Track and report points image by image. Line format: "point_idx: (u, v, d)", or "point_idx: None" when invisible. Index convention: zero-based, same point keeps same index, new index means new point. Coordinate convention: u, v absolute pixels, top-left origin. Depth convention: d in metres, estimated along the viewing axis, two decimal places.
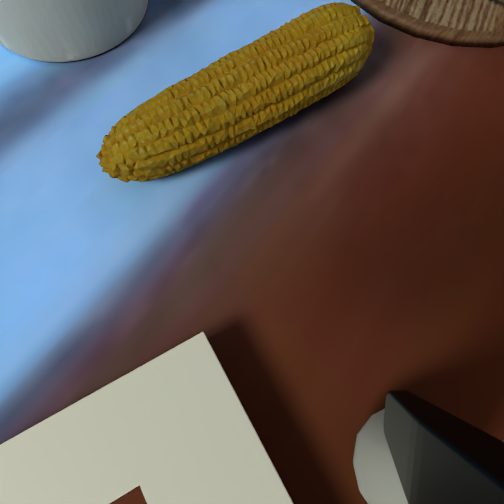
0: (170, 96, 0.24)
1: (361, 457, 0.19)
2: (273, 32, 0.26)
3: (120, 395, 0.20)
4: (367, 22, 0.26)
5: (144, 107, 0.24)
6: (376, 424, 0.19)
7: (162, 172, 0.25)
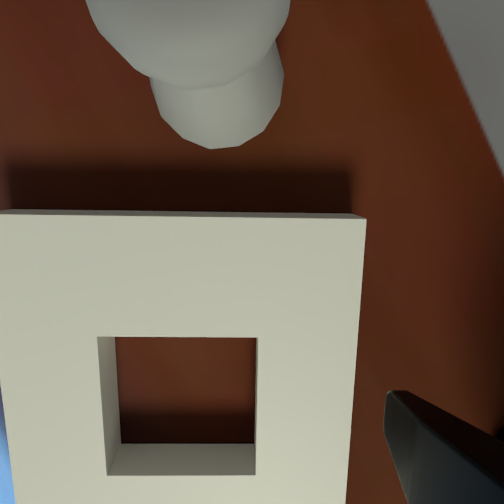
0: None
1: (175, 128, 0.17)
2: None
3: (9, 321, 0.19)
4: None
5: None
6: (153, 90, 0.16)
7: None
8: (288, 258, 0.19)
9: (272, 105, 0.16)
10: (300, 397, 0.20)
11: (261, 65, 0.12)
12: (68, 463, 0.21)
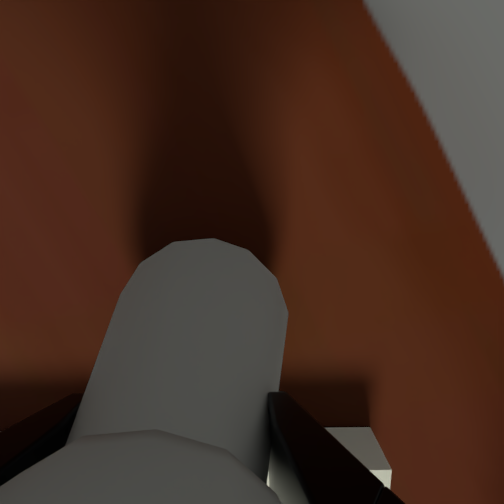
0: None
1: None
2: None
3: None
4: None
5: None
6: None
7: None
8: None
9: None
10: None
11: None
12: None
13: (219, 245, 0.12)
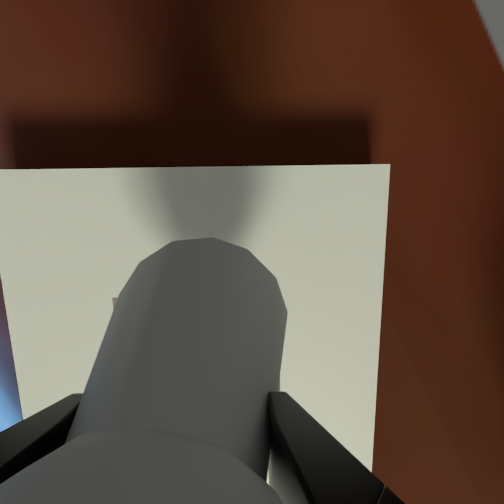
0: None
1: None
2: None
3: (20, 284, 0.18)
4: None
5: None
6: None
7: None
8: (309, 208, 0.18)
9: None
10: (325, 355, 0.19)
11: None
12: None
13: (218, 244, 0.12)
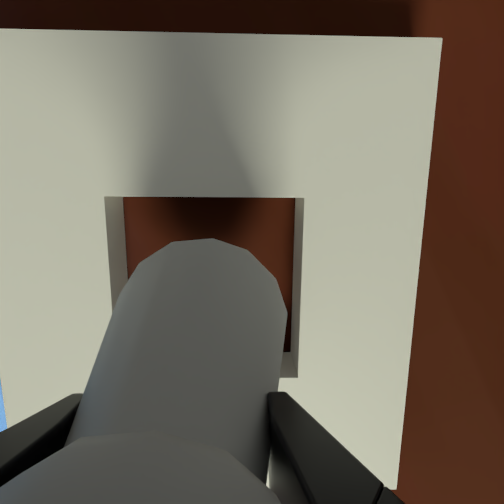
0: None
1: None
2: None
3: None
4: None
5: None
6: None
7: None
8: (343, 91, 0.15)
9: None
10: (354, 276, 0.16)
11: None
12: (70, 364, 0.17)
13: (217, 245, 0.12)
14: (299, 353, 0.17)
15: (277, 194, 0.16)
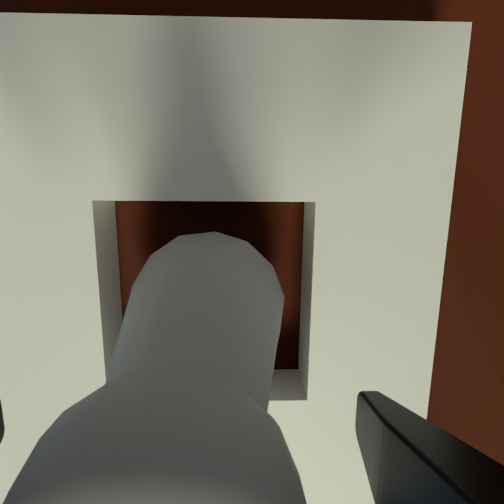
0: None
1: None
2: None
3: None
4: None
5: None
6: None
7: None
8: (360, 82, 0.13)
9: None
10: (371, 289, 0.15)
11: None
12: (56, 385, 0.15)
13: (220, 237, 0.14)
14: (309, 373, 0.15)
15: (285, 198, 0.14)
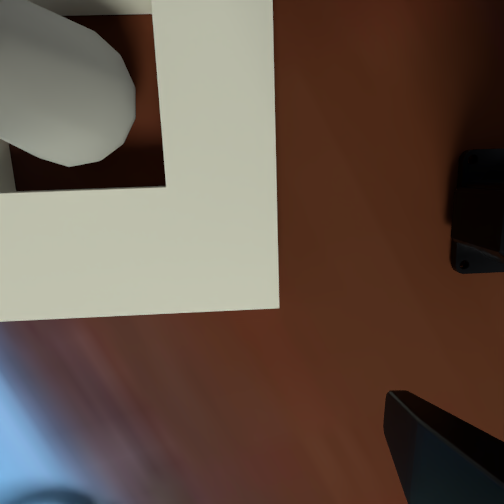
0: None
1: None
2: None
3: None
4: None
5: None
6: None
7: None
8: None
9: (117, 118, 0.16)
10: (210, 74, 0.17)
11: (47, 85, 0.11)
12: None
13: None
14: (164, 160, 0.17)
15: None
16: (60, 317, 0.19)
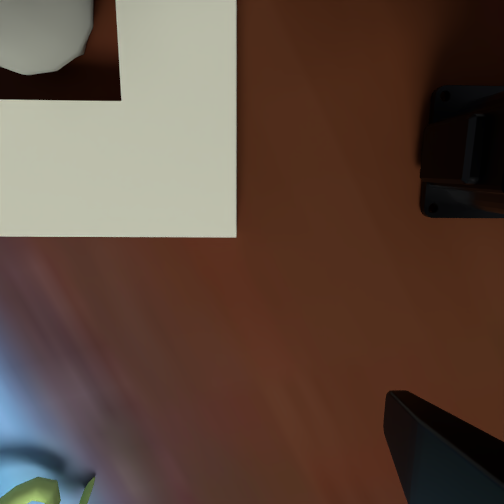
0: None
1: None
2: None
3: None
4: None
5: None
6: None
7: None
8: None
9: (67, 18, 0.15)
10: None
11: None
12: None
13: None
14: (120, 72, 0.17)
15: None
16: (9, 235, 0.18)
